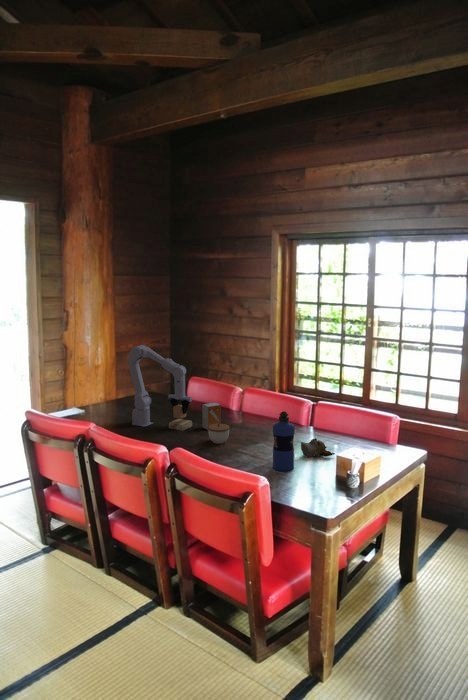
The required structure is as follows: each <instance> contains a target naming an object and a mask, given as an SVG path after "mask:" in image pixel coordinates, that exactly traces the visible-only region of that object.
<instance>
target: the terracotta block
mask: <svg viewBox="0 0 468 700" xmlns="http://www.w3.org/2000/svg"><path fill="white" fill-rule="evenodd" d="M172 409H173V411H172V413H173V415H172V416H173V418H176V419H184V418H186V417H187V413H186V414H183V408H182V404H178V405H176V406H174V407H173V406H172Z"/></svg>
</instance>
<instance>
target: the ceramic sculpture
mask: <svg viewBox="0 0 468 700" xmlns="http://www.w3.org/2000/svg"><path fill="white" fill-rule="evenodd" d="M327 448H328V447H327V446H326V445H325V443H324V442H323V441H322V440H318V439H317V438H316V437H315V438H312V439H311V440H310V441H309V442H304V441H301V442H300V449H301V452H302V454H303V456H304V457H305V458H310V456H312V457H325V458H327V457H331V456H334V455H335V452H331V451H330V450H326V449H327Z"/></svg>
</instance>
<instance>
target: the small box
mask: <svg viewBox="0 0 468 700" xmlns="http://www.w3.org/2000/svg"><path fill="white" fill-rule="evenodd" d="M201 406H202V407H201V408H202V428H203V429H205V430H207V431H208V426H209V425H212V424H218V423H220V424H222V423H221V421H222V420H221V417H222V415H221V414H222V410H221V409H222V408H221V406H222V404H220V403H218V402H209V403H205V404H202V405H201Z"/></svg>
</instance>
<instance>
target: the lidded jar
mask: <svg viewBox="0 0 468 700" xmlns="http://www.w3.org/2000/svg"><path fill="white" fill-rule="evenodd" d="M207 432H208V437H209V439H210V440H211V442H212V443H213V444H217V445H218V444H224V443H225V442H226V441H227V440H228V439H229V435H230V425H228V424H226V423H221V424H220V423H218V424H212V425H209V426H208V430H207Z"/></svg>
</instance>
